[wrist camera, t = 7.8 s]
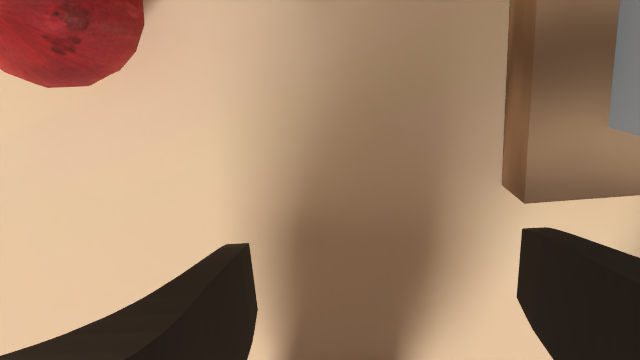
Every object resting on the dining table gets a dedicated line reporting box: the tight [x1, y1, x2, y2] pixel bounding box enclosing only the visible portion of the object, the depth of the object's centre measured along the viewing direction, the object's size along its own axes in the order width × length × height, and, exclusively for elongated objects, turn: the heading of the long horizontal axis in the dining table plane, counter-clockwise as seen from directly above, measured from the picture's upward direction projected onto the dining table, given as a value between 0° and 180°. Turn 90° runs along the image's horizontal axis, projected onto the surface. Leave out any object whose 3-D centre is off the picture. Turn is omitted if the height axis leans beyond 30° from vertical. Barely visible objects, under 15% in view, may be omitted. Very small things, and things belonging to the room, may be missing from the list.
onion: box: [0, 0, 144, 88], centre depth 15 cm, size 6×6×8 cm
